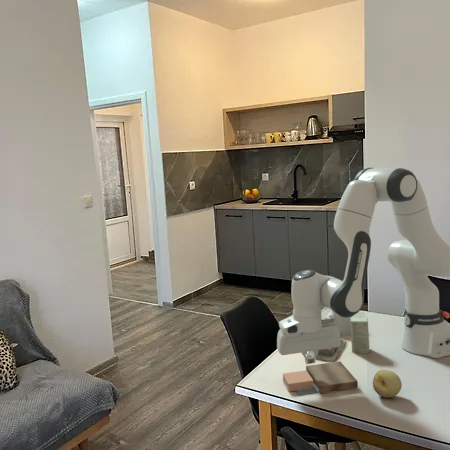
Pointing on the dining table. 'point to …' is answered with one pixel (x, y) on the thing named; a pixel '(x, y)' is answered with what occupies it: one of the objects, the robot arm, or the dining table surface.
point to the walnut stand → (332, 377)
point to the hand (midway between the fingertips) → (310, 362)
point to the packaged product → (328, 352)
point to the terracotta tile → (298, 380)
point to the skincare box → (359, 334)
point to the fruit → (387, 383)
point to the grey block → (343, 325)
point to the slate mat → (308, 390)
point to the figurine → (329, 314)
